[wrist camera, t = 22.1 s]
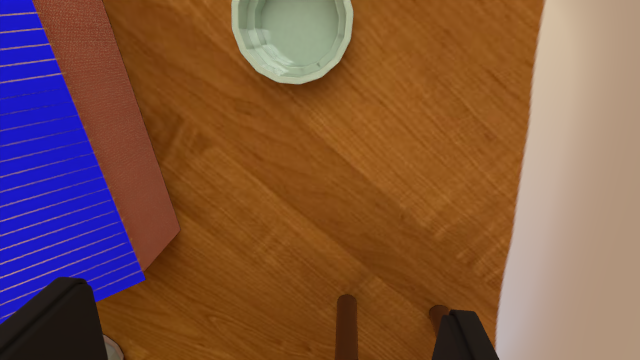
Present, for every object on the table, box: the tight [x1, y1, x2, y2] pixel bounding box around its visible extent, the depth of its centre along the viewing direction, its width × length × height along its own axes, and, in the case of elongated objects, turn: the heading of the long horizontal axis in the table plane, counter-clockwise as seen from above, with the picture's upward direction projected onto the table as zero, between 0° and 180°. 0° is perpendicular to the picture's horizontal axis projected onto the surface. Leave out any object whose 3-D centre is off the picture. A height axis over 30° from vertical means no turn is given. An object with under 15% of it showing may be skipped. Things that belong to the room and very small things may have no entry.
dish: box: [232, 0, 353, 84], centre depth 22 cm, size 7×7×4 cm
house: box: [0, 0, 181, 324], centre depth 23 cm, size 12×20×12 cm, turn 9°
